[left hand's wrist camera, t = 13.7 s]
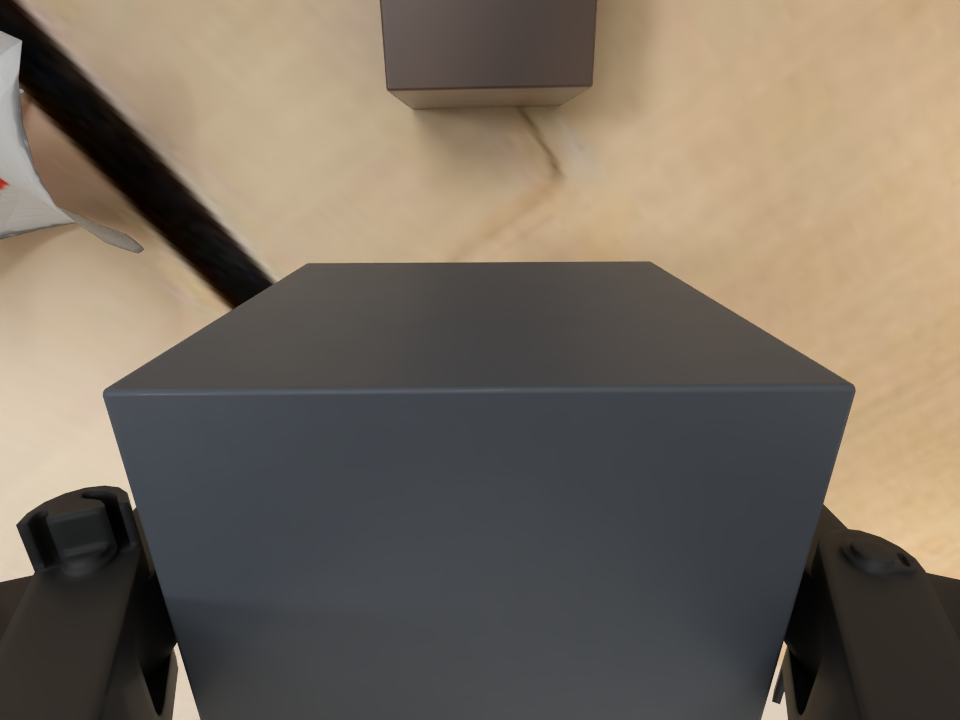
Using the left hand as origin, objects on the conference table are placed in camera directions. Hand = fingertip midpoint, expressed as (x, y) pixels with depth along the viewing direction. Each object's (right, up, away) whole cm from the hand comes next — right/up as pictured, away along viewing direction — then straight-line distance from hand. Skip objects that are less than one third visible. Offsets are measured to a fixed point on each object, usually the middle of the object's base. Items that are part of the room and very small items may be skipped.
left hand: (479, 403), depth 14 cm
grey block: (0, 0, -1) cm, 1 cm away
